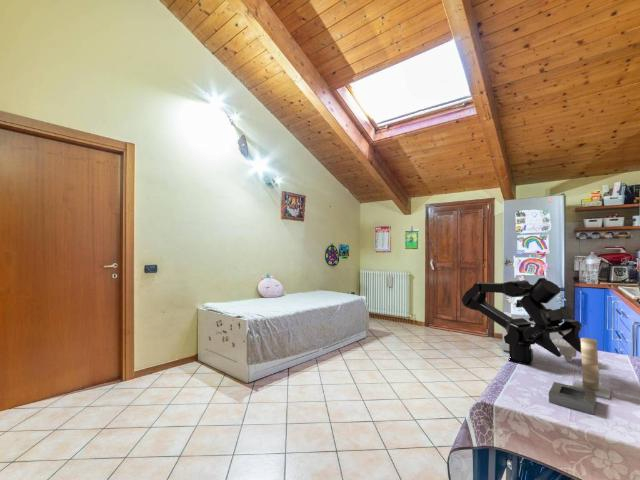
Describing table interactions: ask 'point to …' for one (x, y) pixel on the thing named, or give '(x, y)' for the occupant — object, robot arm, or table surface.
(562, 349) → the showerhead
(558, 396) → the eye block
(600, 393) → the mat
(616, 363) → the table surface
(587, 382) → the peg
